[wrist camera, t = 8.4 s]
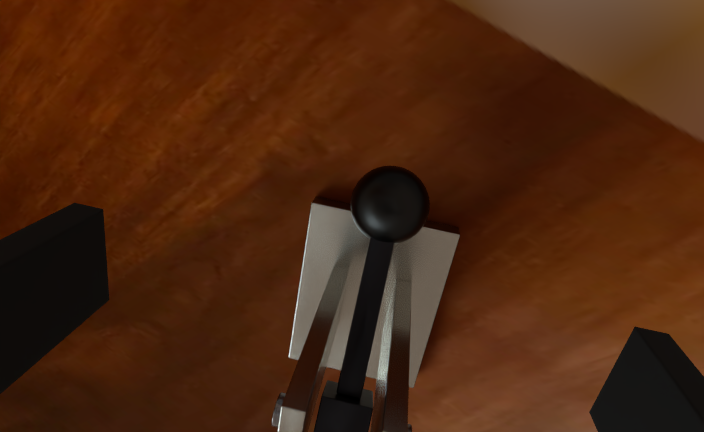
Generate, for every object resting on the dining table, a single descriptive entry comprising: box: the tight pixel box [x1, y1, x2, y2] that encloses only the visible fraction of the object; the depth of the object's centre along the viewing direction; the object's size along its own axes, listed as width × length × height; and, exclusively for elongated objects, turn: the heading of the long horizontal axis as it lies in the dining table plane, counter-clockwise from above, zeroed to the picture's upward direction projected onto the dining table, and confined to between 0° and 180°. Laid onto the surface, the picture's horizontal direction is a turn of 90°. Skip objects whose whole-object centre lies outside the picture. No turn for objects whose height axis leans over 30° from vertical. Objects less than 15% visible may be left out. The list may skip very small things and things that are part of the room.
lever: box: [314, 166, 430, 432], centre depth 20 cm, size 13×4×4 cm, turn 170°
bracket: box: [272, 196, 460, 432], centre depth 24 cm, size 12×9×13 cm
